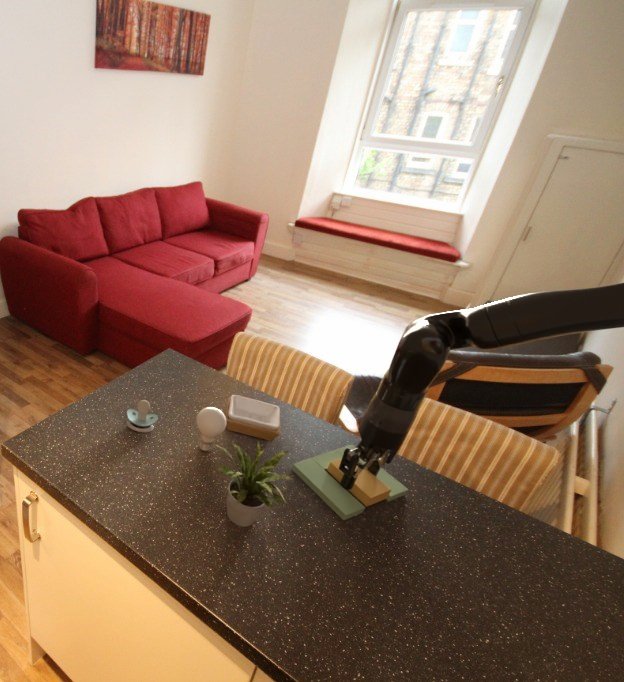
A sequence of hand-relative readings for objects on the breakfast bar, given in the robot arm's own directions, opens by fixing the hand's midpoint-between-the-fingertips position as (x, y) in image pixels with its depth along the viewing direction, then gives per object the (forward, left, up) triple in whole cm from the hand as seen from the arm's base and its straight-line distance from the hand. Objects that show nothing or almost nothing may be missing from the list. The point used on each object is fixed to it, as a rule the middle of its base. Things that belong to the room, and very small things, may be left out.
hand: (357, 481), depth 92 cm
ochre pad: (0, 0, -1) cm, 1 cm away
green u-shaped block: (0, -2, -2) cm, 2 cm away
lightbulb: (+23, -20, -2) cm, 31 cm away
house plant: (+28, -3, -2) cm, 29 cm away
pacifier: (+33, -32, -2) cm, 47 cm away
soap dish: (+8, -23, -2) cm, 25 cm away
